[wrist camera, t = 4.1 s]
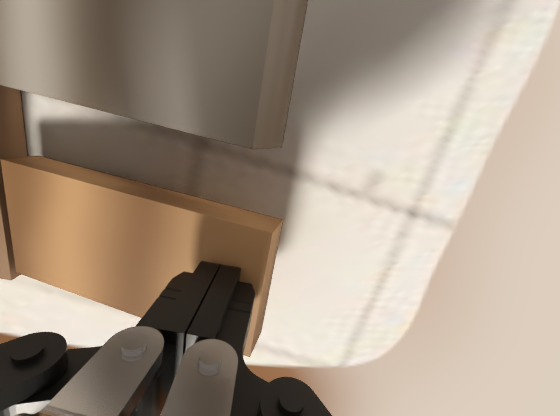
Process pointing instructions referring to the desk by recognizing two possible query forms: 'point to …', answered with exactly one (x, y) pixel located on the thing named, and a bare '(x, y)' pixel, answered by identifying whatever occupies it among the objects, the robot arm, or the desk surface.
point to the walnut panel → (3, 144)
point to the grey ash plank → (161, 61)
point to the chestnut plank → (128, 236)
